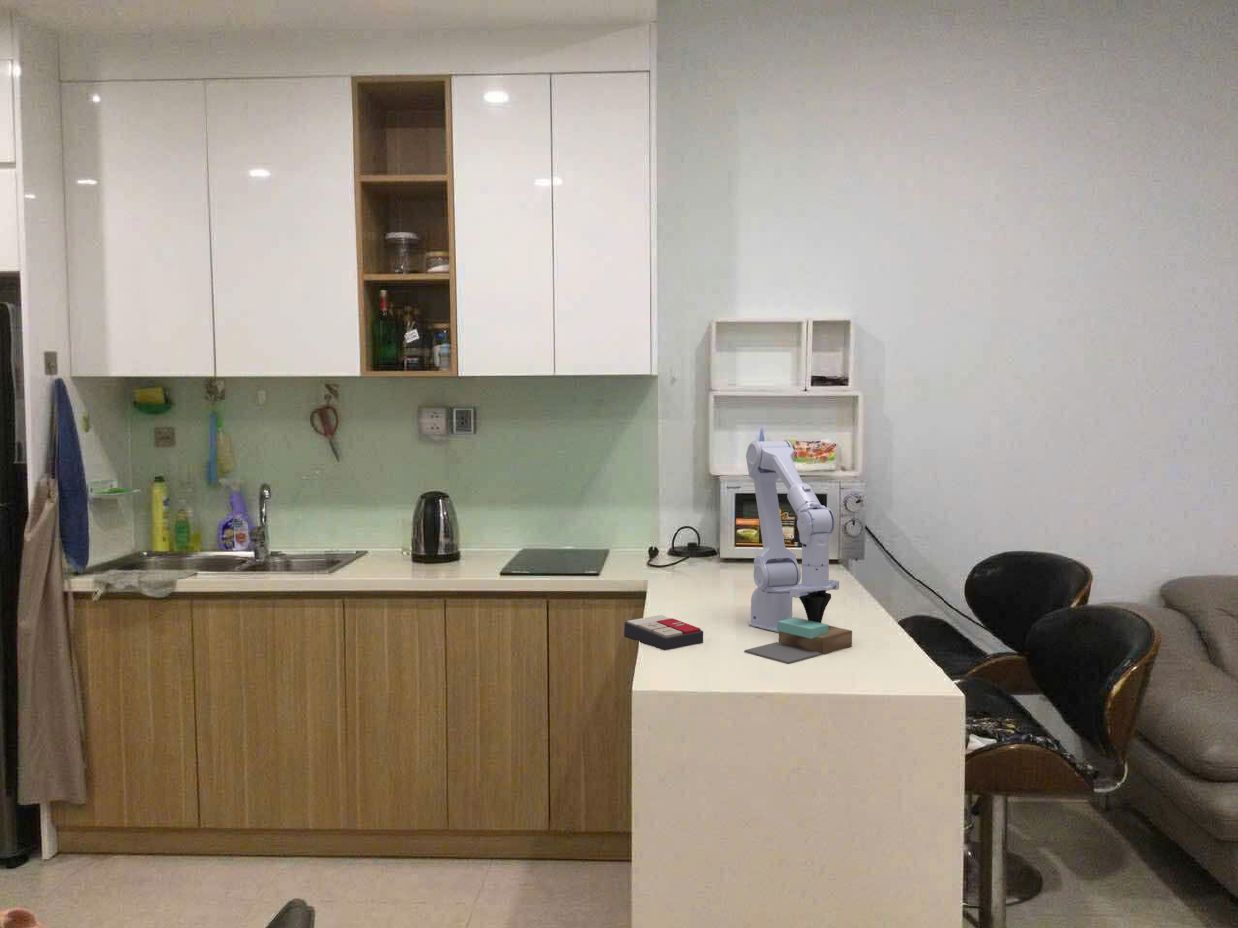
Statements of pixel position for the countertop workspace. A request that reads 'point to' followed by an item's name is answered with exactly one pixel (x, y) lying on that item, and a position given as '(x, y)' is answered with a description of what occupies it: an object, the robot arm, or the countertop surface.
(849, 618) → the countertop surface
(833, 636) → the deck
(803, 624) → the block
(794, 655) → the mat
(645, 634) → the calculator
